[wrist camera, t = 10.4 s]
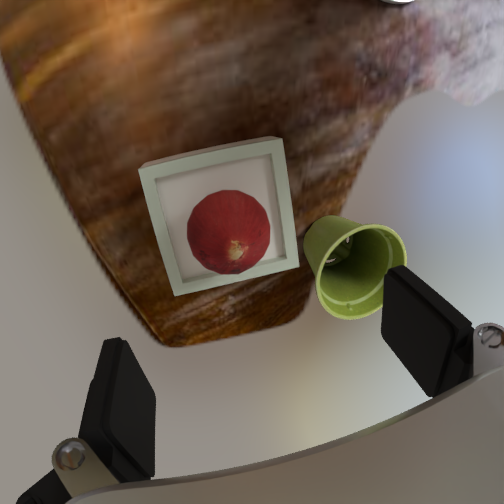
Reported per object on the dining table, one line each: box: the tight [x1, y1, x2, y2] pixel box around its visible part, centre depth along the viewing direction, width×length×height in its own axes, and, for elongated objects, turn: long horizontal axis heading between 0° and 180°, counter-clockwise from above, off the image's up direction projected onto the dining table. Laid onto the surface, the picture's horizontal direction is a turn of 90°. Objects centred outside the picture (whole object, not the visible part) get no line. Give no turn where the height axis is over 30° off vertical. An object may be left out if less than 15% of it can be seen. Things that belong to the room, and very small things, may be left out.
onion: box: [187, 190, 271, 275], centre depth 22 cm, size 6×6×8 cm
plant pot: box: [303, 215, 407, 320], centre depth 32 cm, size 9×9×9 cm
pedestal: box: [138, 136, 299, 296], centre depth 28 cm, size 11×11×7 cm
